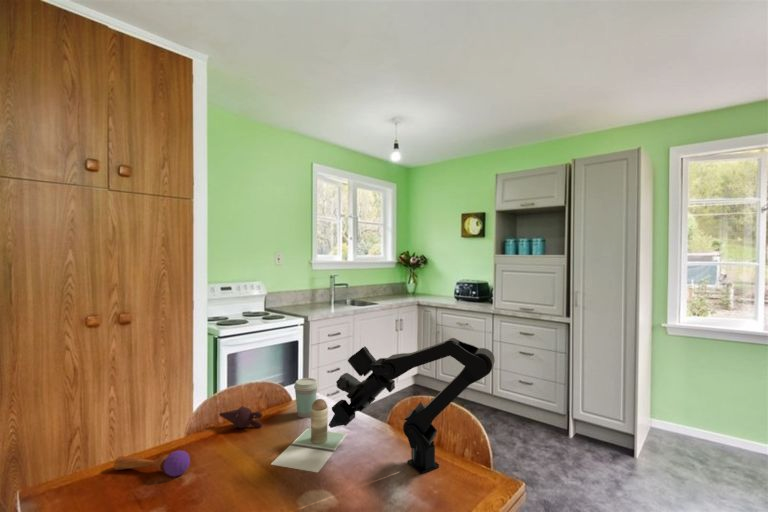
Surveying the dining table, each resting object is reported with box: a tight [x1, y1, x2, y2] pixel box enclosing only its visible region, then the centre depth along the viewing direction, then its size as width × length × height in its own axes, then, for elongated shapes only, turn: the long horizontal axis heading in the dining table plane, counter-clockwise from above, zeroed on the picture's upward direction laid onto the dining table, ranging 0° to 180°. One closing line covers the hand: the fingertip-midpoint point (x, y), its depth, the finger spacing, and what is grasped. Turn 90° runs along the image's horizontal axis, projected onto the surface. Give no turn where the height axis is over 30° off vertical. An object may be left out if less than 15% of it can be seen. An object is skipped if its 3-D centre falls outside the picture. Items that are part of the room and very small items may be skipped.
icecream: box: [219, 405, 263, 430], centre depth 123 cm, size 7×7×15 cm
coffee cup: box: [293, 377, 319, 419], centre depth 133 cm, size 8×8×12 cm
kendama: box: [113, 449, 191, 477], centre depth 97 cm, size 6×6×20 cm
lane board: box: [270, 428, 348, 473], centre depth 109 cm, size 22×14×1 cm, turn 165°
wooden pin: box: [310, 398, 329, 444], centre depth 114 cm, size 5×5×12 cm
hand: (337, 419), depth 111 cm, fingers open, 9 cm apart
